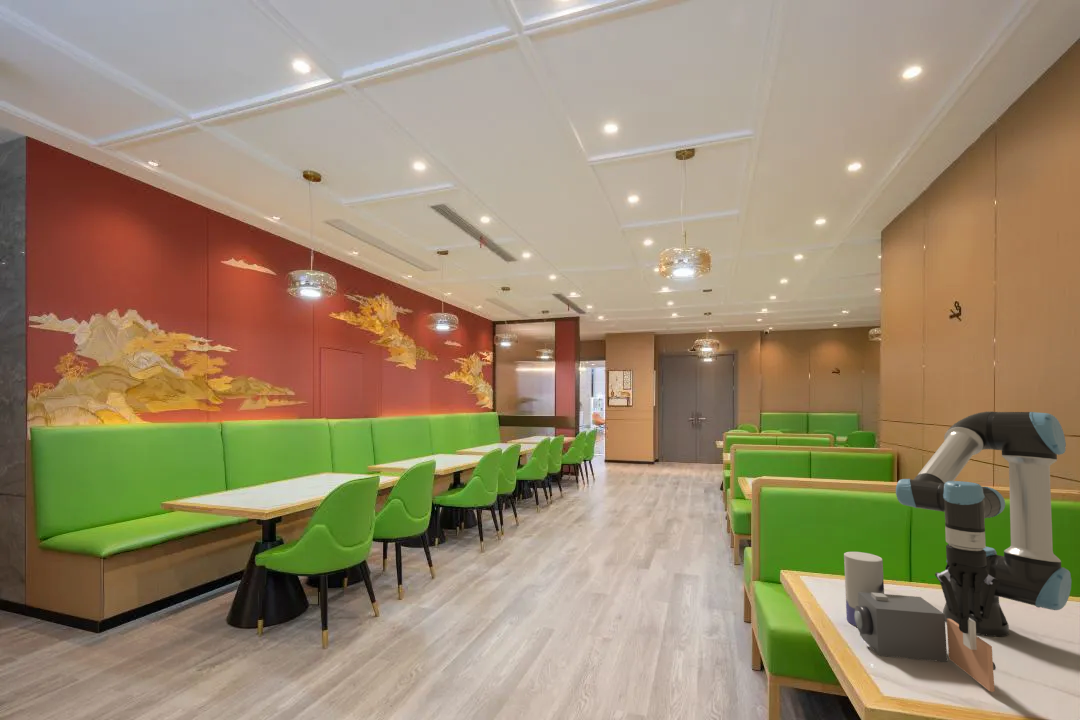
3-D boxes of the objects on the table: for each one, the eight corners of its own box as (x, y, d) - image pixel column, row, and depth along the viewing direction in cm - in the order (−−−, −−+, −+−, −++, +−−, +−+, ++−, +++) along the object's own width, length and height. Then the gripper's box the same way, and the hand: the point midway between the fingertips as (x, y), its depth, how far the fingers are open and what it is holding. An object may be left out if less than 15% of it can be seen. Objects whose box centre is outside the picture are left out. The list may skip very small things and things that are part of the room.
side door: (948, 658, 130) (946, 618, 131) (957, 659, 130) (955, 619, 131) (989, 691, 116) (986, 645, 117) (999, 692, 115) (996, 646, 116)
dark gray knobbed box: (922, 640, 142) (920, 593, 143) (947, 662, 131) (944, 610, 132) (850, 634, 146) (848, 587, 147) (867, 654, 134) (865, 603, 136)
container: (892, 632, 148) (888, 562, 149) (854, 629, 150) (851, 559, 151) (876, 618, 157) (873, 552, 159) (841, 615, 159) (838, 550, 161)
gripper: (945, 549, 121) (949, 651, 119) (1007, 553, 118) (1012, 657, 117) (927, 540, 128) (931, 637, 126) (985, 544, 126) (989, 642, 124)
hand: (970, 646), depth 121 cm, fingers closed
